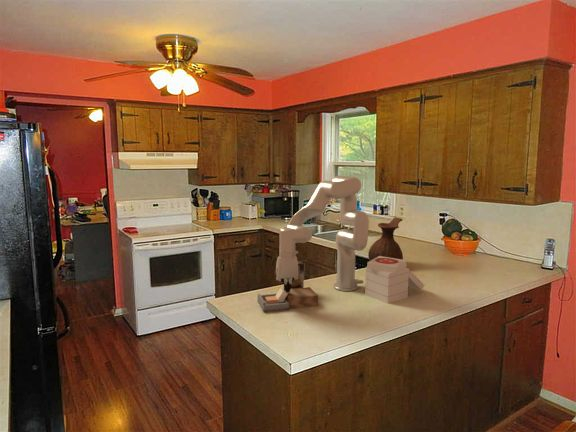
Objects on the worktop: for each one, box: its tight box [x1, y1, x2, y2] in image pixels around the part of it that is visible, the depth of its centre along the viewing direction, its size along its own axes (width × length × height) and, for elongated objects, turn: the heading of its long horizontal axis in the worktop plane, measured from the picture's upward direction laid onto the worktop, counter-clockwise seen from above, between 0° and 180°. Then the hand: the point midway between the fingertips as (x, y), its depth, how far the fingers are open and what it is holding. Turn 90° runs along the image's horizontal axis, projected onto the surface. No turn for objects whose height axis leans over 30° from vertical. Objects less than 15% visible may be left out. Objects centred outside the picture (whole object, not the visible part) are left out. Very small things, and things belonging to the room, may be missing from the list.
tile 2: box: [275, 287, 288, 303], centre depth 195 cm, size 5×5×3 cm
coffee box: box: [286, 260, 305, 289], centre depth 211 cm, size 9×6×16 cm
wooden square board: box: [285, 286, 319, 309], centre depth 198 cm, size 14×12×5 cm
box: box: [257, 292, 290, 313], centre depth 194 cm, size 12×14×4 cm
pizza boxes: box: [364, 256, 425, 304], centre depth 209 cm, size 19×30×18 cm, turn 125°
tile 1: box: [265, 296, 278, 305], centre depth 194 cm, size 5×5×3 cm
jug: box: [368, 216, 404, 261], centre depth 258 cm, size 22×22×30 cm
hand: (287, 291), depth 196 cm, fingers closed
